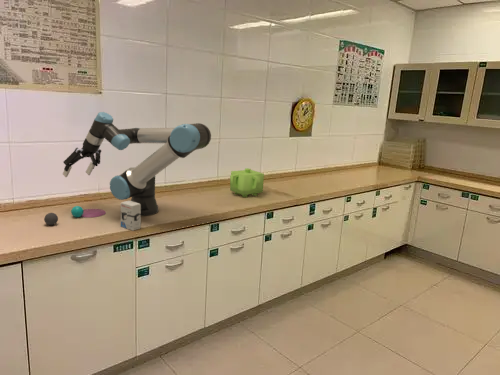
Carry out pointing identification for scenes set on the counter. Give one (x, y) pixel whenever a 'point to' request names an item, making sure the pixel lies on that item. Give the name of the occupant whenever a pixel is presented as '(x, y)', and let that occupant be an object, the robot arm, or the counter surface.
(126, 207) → the ink box
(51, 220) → the black ball
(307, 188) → the counter surface
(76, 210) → the teal ball
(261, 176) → the green ribbed block
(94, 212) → the plum mark
